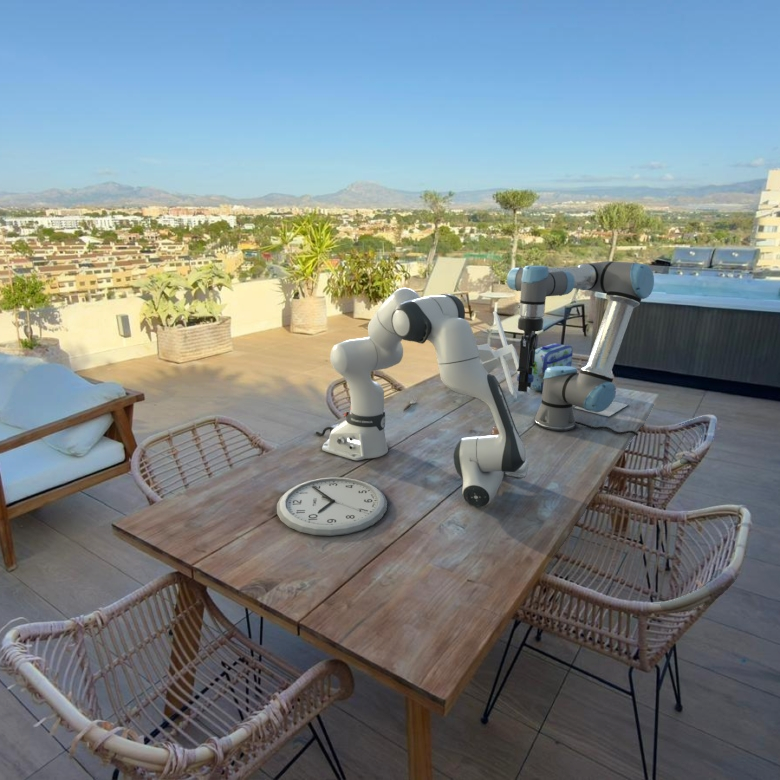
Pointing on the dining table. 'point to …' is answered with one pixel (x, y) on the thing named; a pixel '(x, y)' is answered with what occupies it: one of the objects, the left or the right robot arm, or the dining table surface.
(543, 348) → the lunch box
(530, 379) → the lid
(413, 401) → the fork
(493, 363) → the white plastic object
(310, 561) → the dining table surface
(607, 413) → the invitation card
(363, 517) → the wall clock
